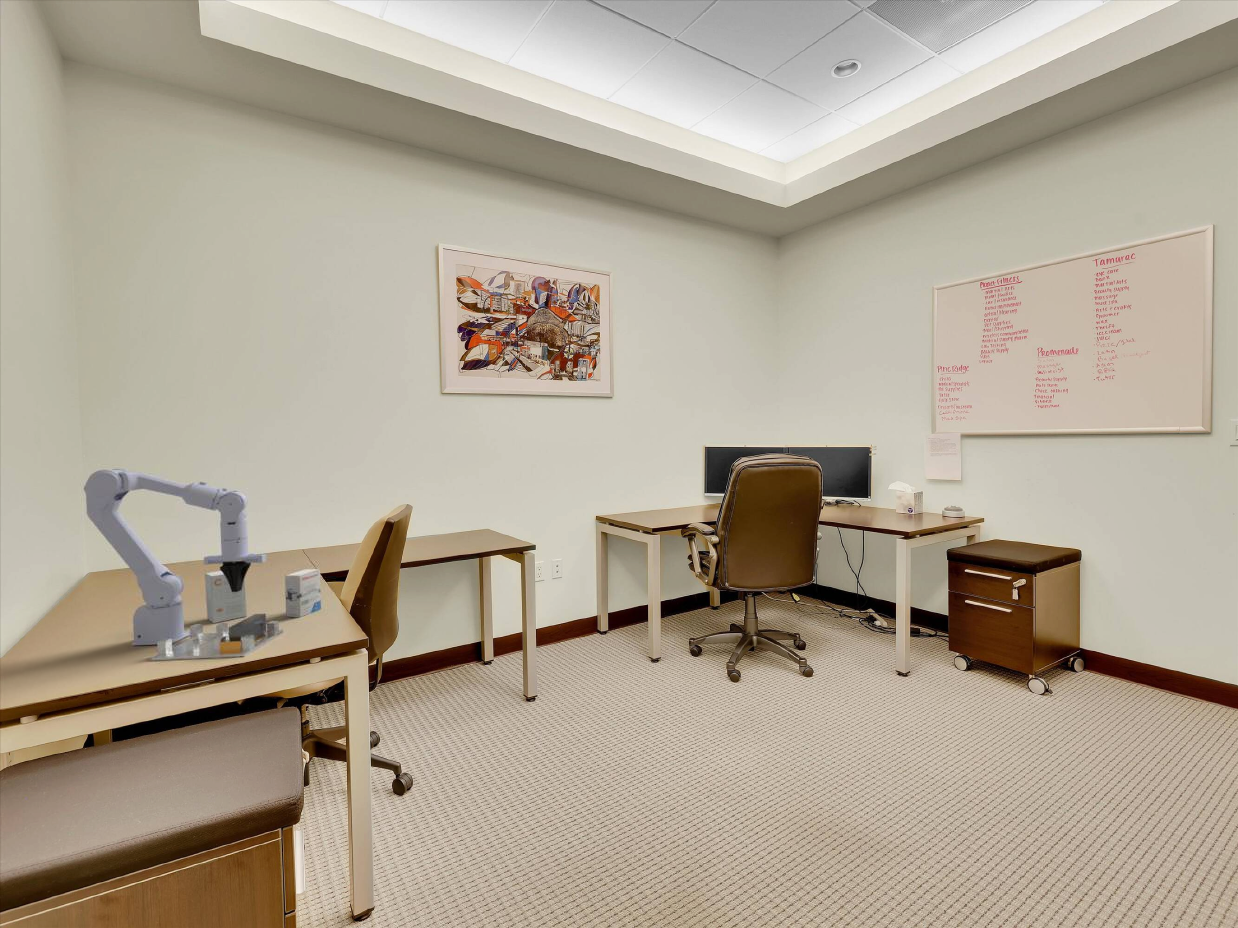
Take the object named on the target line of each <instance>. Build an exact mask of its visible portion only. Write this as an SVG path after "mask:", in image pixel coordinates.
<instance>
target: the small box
mask: <svg viewBox="0 0 1238 928" xmlns="http://www.w3.org/2000/svg"><path fill="white" fill-rule="evenodd" d="M204 582H205V583H204V584H205V598H206V599H205V600H206V601H205V602H206V615H207V620H208V619H209V620H208V621H210V622H211V621H212V622H211V623H213V624H215V623H223V622H225V621H230V620H235V619H239V618H246V617H247V612H248V611H247V596H246V595H247V593H246V578H244V581H243V585H242V590H241V591H238V592H232V591H231V588H230V585H229V583H228V580H227V578H226V577H225V575H224V574H223V572H222V571H221V570H217V571H211V572H205V573H204Z"/></svg>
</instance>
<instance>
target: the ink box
mask: <svg viewBox="0 0 1238 928" xmlns="http://www.w3.org/2000/svg"><path fill="white" fill-rule="evenodd" d="M284 578H285V579H284V580H285V581H284V583H285V584H284V586H285V587H284V588H285V616H286V617H288V618H289V617H290V618H302V617H304V616H308V615H310V614H312V613H314V612H318V611H319V609H320V610H321V609H322V597H321V569H317V568H313V569H312V568H311V569H310V568H309V569H308V568H306V569H302V570H299V571H296V572H292V573H289V574H286V575H285V576H284ZM309 613H310V614H309Z"/></svg>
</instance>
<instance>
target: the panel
mask: <svg viewBox="0 0 1238 928" xmlns="http://www.w3.org/2000/svg"><path fill="white" fill-rule="evenodd" d="M266 615H267V614H266V613H255V614H252V615H251V616H248V617H247V618H246V617H245V618H244V619H243V620H241V621H239V622H237V623H235V624H233V625H231V626H228V632H229V641H241V638H242V637H244V636H246V635H254V641H255V640H256V639H258V638H260V637H261V636H263V635H265V634H266V633H267V632H266V631H267V616H266Z"/></svg>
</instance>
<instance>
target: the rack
mask: <svg viewBox="0 0 1238 928" xmlns="http://www.w3.org/2000/svg"><path fill="white" fill-rule="evenodd" d="M203 626H204V625H203V623H195V624H193V625H190V626H189V632H190V635H189V638H188V639H187V640H186V641H183V642H181V643H179V644H178V645H175V646H173V643H172V638H171V639H162V640H160V641H158V642H157V644H156V645H157V655H155V656H153V657H151V661H152V662H153V661H155V662H156V661H175V660H197V659H218V658H219V659H220V658H221V659H222V658H240V656H245V657H246V656H248V655H249V654H251V653H253V652H254V651H255V650H257V649H260V648H261V647H262V646H264V645H265V644H267V643H269V642H270V641H272V640H273V639H275V638H277V637H278V636H281V634H283V633H284V630H282V629H281V630H280V628H279V627H280V626H279V620H272V621H268V622H266V632H267V633H266V634H265V635H263V636H261V637H260V638H258V639H256V640H255V641H254V635H246V636H244V637H242V638H241V641H229V625H228V622H220V623H219V624H217V625H215V627H216V632H207V633H205V632H204V630H203V629H204V627H203Z"/></svg>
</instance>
